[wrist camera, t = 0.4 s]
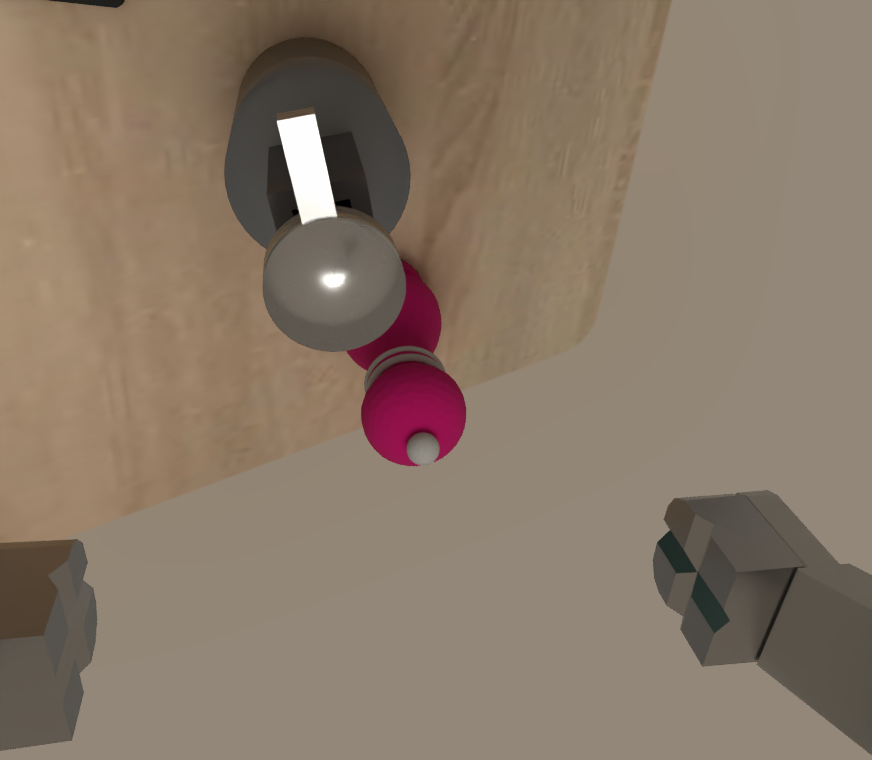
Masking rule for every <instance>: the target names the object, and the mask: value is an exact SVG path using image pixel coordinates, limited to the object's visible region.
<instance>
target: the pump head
mask: <svg viewBox="0 0 872 760" xmlns="http://www.w3.org/2000/svg"><path fill="white" fill-rule="evenodd" d="M277 124H278V128H279V132H280V136H281V140H282V144H283V148H284V152H285V157H286V161H287V165H288V169H289V173H290V177H291V181H292V185H293V189H294V193H295V197H296V201H297V205H298V209H299V214H297V215H296V216H294V217H292V218H291V219H289V220H288V221H287V222H285V223H284V224H283V225H282V226H281V227H280V228H279V229H278V231H277V232H276V233H275V235H274V236H273V238H272V239H271V241H270V243H269V245H268V248H267V250H266V254H265V258H264V268H263V297H264V301H265V305H266V308H267V311H268V313H269V315H270V317H271V318H272V320H273V321H274V323H275V324H276V326H277V327H278V328H279V329H280V330H281V331H282V332H283V333H284V334H285V335H287V336H288V337H289V338H290V339H292V340H294V341H295V342H297V343H299V344H301V345H303V346H306V347H309V348H312V349H315V350H320V351H329V352H337V351H347V350H352V349H355V348H359V347H361V346H364V345H366V344H368V343H370V342H372V341H374V340H375V339H377V338H378V337H380V336H381V335H382V334H383V333H385V332H386V331H387V330H388V329H389V328H390V326H391V325H392V324H393V323H394V321H395V320H396V318H397V317H398V315H399V313H400V311H401V309H402V306H403V303H404V299H405V294H406V279H405V273H404V269H403V266H402V263H401V260H400V257H399V254H398V251H397V248H396V246H395V243H394V241H393V240H392V238H391V236H390V235H389V233H388V232H387V231H386V230H385V228H384V227H383V226H382V225H381V224H380V223H379V222H377V221H376V220H375V219H373V218H372V217H370V216H368V215H367V214H365V213H363V212H360V211H358V210H355V209H352V208H348V207H342V206H341V202H340V201H336V202H334V198H333V194H332V189H331V184H330V180H329V175H328V171H327V166H326V162H325V157H324V152H323V148H322V143H321V139H320V134H319V130H318V125H317V120H316V116H315V111H314V107H309V108H304V109H299V110H293V111H288V112H282V113H277Z"/></svg>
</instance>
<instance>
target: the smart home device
mask: <svg viewBox="0 0 872 760" xmlns="http://www.w3.org/2000/svg"><path fill="white" fill-rule="evenodd" d="M50 1H59V2H68V3H78V4H87V5H96V6H105V7H114V8H117V7H119V6H120V5H122V4H123V2H124V0H50Z"/></svg>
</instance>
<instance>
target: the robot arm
mask: <svg viewBox="0 0 872 760" xmlns="http://www.w3.org/2000/svg"><path fill="white" fill-rule="evenodd" d="M664 520H665V522H666V524H667V525H668V527H669V529H670V531H669V532H667V533H666V534H665V535H664V536H663V537H662V538H661V539H660V540H659V541H658V542H657V545H656V549H655V553H654V557H653V567H654V578H655V582H656V585H657V588H658V591H659V593H660V595H661V596H662V598H663V600H664V602H665V604H666V605H667V606H668V607H670V608H671V609H673V610H674V611H676V612H677V613H679V614H680V615H682V616H683V619H682V624H681V631H682V633H683V634H684V636H685V638H686V640H687V641H688V643H689V645H690V646H691V648H692V650H693V651H694V653H695V655H696V656H697V658H698V660H699V661H700V663H701V665H702V666H712V665H724V664H735V663H747V662H757V665H758V666H759V667H760V668H762V669H763V670H764V671H766V672H767V673H768V674H769V675H771V676H772V677H773V678H774V679H776V680H777V681H778V682H779V683H781V684H782V685H783V686H785V687H786V688H787V689H788V690H790V691H791V692H792V693H794V694H795V695H796V696H797V697H799V698H800V699H801V700H802V701H804V702H805V703H806V704H807V705H809V706H810V707H811V708H812V709H814V710H815V711H816V712H818V713H819V714H820V715H821V716H823V717H824V718H825V719H826V720H828V721H829V722H830V723H832V724H833V725H834V726H836V727H837V728H838V729H839V730H840V731H842V732H843V733H844V734H845V735H847V736H848V737H849V738H851V739H852V740H853V741H854V742H856V743H857V744H858V745H860V746H861V747H862V748H863V749H865V750H866V751H867V752H868V753H870V754H871V755H872V575H870V574H868V573H866V572H864V571H862V570H860V569H858V568H857V567H855V566H853V565H851V564H839V563H838V562H837V561H836V560H835V559H834V557H833V556H832V555H831V554H830V553H829V552H828V551H827V550H826V549H825V547H824V546H823V545H822V544H821V543H820V542H819V541H818V540H817V539H816V538H815V536H814V535H813V534H812V533H811V532H810V531H809V530H808V529H807V527H806V526H805V525H804V524H803V523H802V522H801V521H800V520H799V519H798V517H797V516H796V515H795V514H794V513H793V512H792V511H791V510H790V509H789V507H788V506H787V505H786V504H785V503H784V502H783V501H782V500H781V499H780V497H779V496H778V495H776V494H774V493H772V492H770V491H768V490H765V491H754V492H742V493H736V494H724V495H712V496H698V497H686V498H675V499H673V501H672V502H671V503H670V504H669V506H668V508H667V511H666V514H665V517H664ZM87 563H88V562H87V558H86V554H85V551H84V547H83V543H82V542H81V541H79V540H77V539H74V540H51V541H30V542H9V543H0V751H2V750H8V749H16V748H22V747H30V746H37V745H44V744H50V743H57V742H64V741H71V740H72V738H73V734H74V730H75V726H76V722H77V717H78V713H79V710H80V706H81V702H82V697H83V693H84V692H83V687H82V684H81V679H80V675H79V673H80V672H81V671H82V670H83V669H84V668H85V667H86V666H88V664H89V663H91V660H92V655H93V651H94V646H95V639H96V627H97V611H96V600H95V595H94V590H93V588H92V587H91V586H90V585H88V584H87V583H86V582H84V581H83V577H84V574H85V570H86V566H87Z"/></svg>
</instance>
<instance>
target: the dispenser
mask: <svg viewBox="0 0 872 760" xmlns="http://www.w3.org/2000/svg"><path fill="white" fill-rule="evenodd" d="M309 107H314V111H315V116H316V120H317V125H318V130H319V134H320V139H321V143H322V148H323V152H324V157H325V162H326V166H327V171H328V175H329V180H330V184H331V189H332V194H333V198H334V202H336V201H340V202H341V206H342V207H348V208H352V209H355V210H358V211H360V212H363V213H365V214H367V215H368V216H370V217H372V218H373V219H375V220H376V221H377V222H379V223H380V224H381V225H382V226H383V227H384V228H385V230H386V231H387V232H388V233H389V234H390V232H391V231H392V230H393V229H394V227H395V226H396V224H397V222H398V221H399V219H400V217H401V215H402V213H403V211H404V209H405V205H406V202H407V199H408V194H409V189H410V165H409V159H408V155H407V151H406V148H405V145H404V143H403V140H402V138H401V136H400V134H399V132H398V130H397V128H396V126H395V125H394V123H393V121H392V119H391V117H390V115H389V113H388V111H387V109H386V107H385V105H384V103H383V101H382V100H381V98H380V96H379V94H378V92H377V90H376V88H375V86H374V84H373V82H372V80H371V78H370V77H369V75H368V73H367V72H366V70H365V69H364V67H363V66H362V65H361V64H360V63H359V61H358V60H357V59H356V58H355V57H353V56H352V55H351V54H350V53H349V52H347V51H346V50H344V49H343V48H341V47H339V46H337V45H335V44H333V43H331V42H328V41H325V40H321V39H315V38H294V39H290V40H286V41H283V42H280V43H278V44H275V45H273V46H272V47H270V48H268V49H267V50H265V51H264V52H263V53H262V54H261V55H259V56H258V57H257V58H256V60H255V61H254V62H253V63H252V64H251V66H250V67H249V69H248V70H247V72H246V74H245V76H244V78H243V81H242V84H241V87H240V90H239V95H238V100H237V105H236V110H235V114H234V119H233V124H232V129H231V134H230V138H229V143H228V148H227V153H226V158H225V171H224V175H225V186H226V190H227V195H228V199H229V201H230V204H231V207H232V209H233V211H234V213H235V215H236V217H237V219H238V220H239V222H240V223H241V225H242V226H243V227H244V229H245V230H246V231H247V232H248V233H249V234H250V236H251V237H252V238H253V239H254V240H256V241H257V242H258V243H259V244H260V245H261V246H263V247H264V248H266V249H267V248H268V245H269V243H270V241H271V239H272V238H273V236H274V235H275V233H276V232H277V231H278V229H279V228H280V227H281V226H282V225H283V224H284V223H285V222H287V221H288V220H289V219H291V218H292V217H294V216H296V215H297V214H299V209H298V205H297V201H296V197H295V193H294V189H293V185H292V181H291V177H290V173H289V169H288V165H287V161H286V157H285V152H284V148H283V144H282V140H281V136H280V132H279V128H278V124H277V113H282V112H288V111H293V110H299V109H304V108H309Z"/></svg>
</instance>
